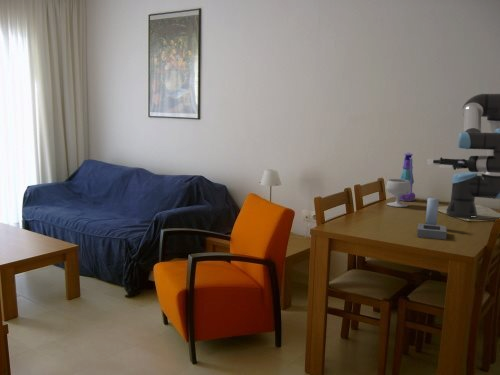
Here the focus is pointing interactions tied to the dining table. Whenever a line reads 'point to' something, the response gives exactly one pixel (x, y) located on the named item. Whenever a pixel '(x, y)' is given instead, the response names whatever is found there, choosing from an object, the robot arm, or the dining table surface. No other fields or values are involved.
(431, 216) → the peg
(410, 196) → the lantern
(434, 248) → the dining table surface
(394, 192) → the chalice
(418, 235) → the socket block
